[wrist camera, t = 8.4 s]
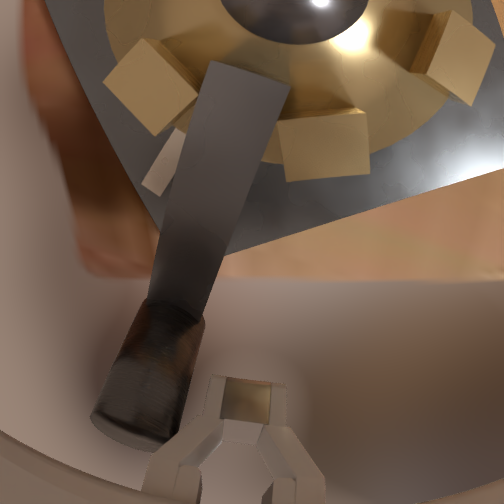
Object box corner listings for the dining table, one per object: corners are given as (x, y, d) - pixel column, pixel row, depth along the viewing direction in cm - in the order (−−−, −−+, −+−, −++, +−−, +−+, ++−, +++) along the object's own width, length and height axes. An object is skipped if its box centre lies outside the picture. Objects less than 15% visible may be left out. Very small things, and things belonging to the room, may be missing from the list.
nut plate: (55, -27, 9) (29, -32, 7) (377, -143, 4) (387, -161, 2) (192, 247, 17) (181, 271, 15) (503, 149, 12) (527, 162, 10)
